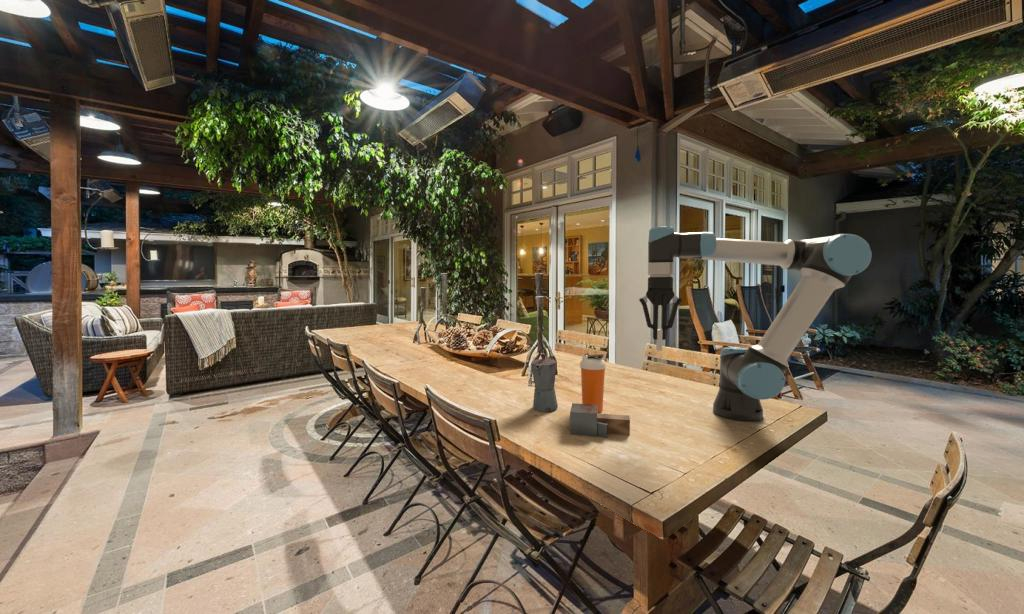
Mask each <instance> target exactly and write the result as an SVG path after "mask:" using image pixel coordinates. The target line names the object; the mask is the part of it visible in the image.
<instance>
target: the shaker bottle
mask: <svg viewBox="0 0 1024 614" xmlns="http://www.w3.org/2000/svg"><path fill="white" fill-rule="evenodd" d="M604 356H605V355H603V354H589V353H584V354H583V356H582V358H581V361H580V362H579V366H580V378H581V380H580V381H581V401H582V402H581V404H593V405H598V413H599V414H600V413H602V412H603V410H604V409H603V408H604V394H605V393H604V392H605V391H604V390H605V378H606V377H605V374H606V373H605V372H606V365H607V364H606V361H605V360H604V359H603V357H604Z"/></svg>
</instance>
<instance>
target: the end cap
mask: <svg viewBox="0 0 1024 614" xmlns="http://www.w3.org/2000/svg"><path fill="white" fill-rule="evenodd" d="M597 413H598V405H593V404H582V403H578V402H575V403H574V402H572V403H571V408H570V412H569V435H573V436H587V437H600V438H608V436H609V435H608V424H606V423H601V422H597Z"/></svg>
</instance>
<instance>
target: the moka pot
mask: <svg viewBox="0 0 1024 614" xmlns="http://www.w3.org/2000/svg"><path fill="white" fill-rule="evenodd" d="M531 370H532V378H533V384H534V393H533V404H532V408H533V409H534V410H535V411H536V412H541V413H548V412H554V411H556V410H558V406H559V405H558V401H557V399H558V398H557V394H556V389H555V382H556V373H557V360H556V359H553V356H552V355H549V356H548V357H546V354H541V358H538V359H534V360H531Z"/></svg>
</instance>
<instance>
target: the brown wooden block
mask: <svg viewBox="0 0 1024 614" xmlns="http://www.w3.org/2000/svg"><path fill="white" fill-rule="evenodd" d="M597 422H601V423H606V424H608V434H609V435H620V436H630V435H631V418H630V415H627V414H613V413H600V412H599V413H597Z"/></svg>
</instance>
